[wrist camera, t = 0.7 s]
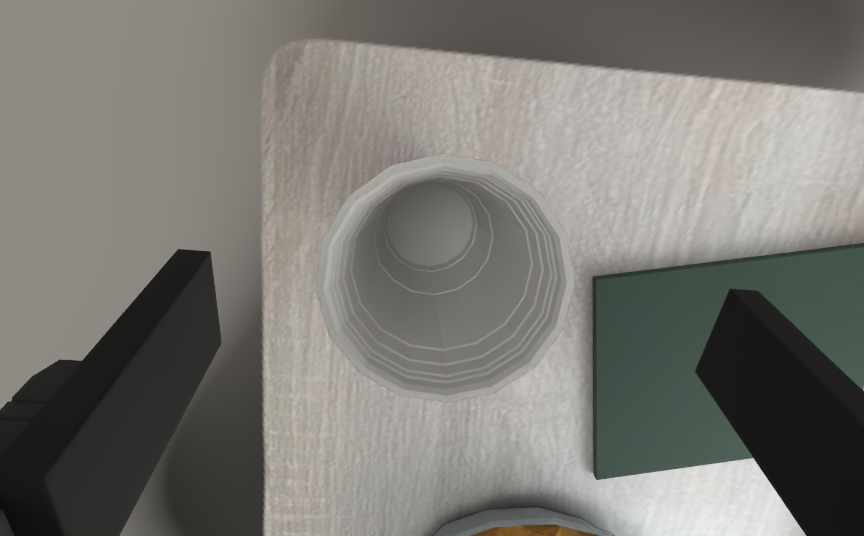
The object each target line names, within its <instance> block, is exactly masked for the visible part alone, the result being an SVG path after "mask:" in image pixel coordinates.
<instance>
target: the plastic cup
mask: <svg viewBox="0 0 864 536" xmlns="http://www.w3.org/2000/svg"><path fill="white" fill-rule="evenodd" d="M574 284H575V279H574V272H573V266H572V260H571V254H570V248H569V241H568V235H567V233H566V231H565V229H564V228H563V226H562V225H561V223H560V222H559V220H558V219H557V217H556V216H555V214H554V213H553V211H552V209H551V208H550V206H549V205H548V203H547V202H546V200H545V199H544V197H543V196H542V194H541V192H540V191H539V190H537V189H535V188H534V187H532V186H531V185H529V184H528V183H526V182H525V181H523V180H522V179H520V178H519V177H517V176H516V175H514V174H513V173H511V172H510V171H508V170H506V169H505V168H503V167H502V166H500V165H499V164H497V163H495V162H490V161H484V160H478V159H472V158H467V157H461V156H455V155H450V154H444V153H442V154H438V155H434V156H429V157H425V158H421V159H416V160H412V161H408V162H403V163H399V164H395V165H390V166H389V167H388V168H386V169H385V170H384V171H382V172H381V173H379V174H378V175H377V176H375V177H374V178H373V179H371V180H370V181H368V182H367V183H366V184H364V185H363V186H362V187H360V188H359V189H357V190H356V191H355V192H353V193H352V194H351V195H349V196H348V197H347V198H346V200H345V202H344V204H343V205H342V207H341V209H340V210H339V212H338V214H337V215H336V217H335V219H334V220H333V222H332V224H331V226H330V227H329V229H328V231H327V232H326V234H325V236H324V237H323V239H322V241H321V249H320V257H319V265H318V273H317V281H316V293H317V297H318V300H319V303H320V307H321V310H322V314H323V317H324V320H325V324H326V327H327V330H328V334H329V336H330V338H331V339H332V340H333V341H334V343H335V344H336V345H337V346H338V347H339V349H340V350H341V351H342V352H343V354H344V355H345V356H346V357H347V358H348V360H349V361H350V362H351V363H352V365H353V366H354V367H355V368H356V369H357V371H358V372H359V373H361V374H362V375H364V376H366V377H368V378H370V379H371V380H373V381H375V382H377V383H379V384H380V385H382V386H384V387H386V388H388V389H389V390H391V391H393V392H395V393H397V394H398V395H400V396H405V397H412V398H419V399H426V400H433V401H440V402H447V403H449V402H454V401H458V400H463V399H468V398H472V397H477V396H482V395H486V394H491V393H495V392H497V391H498V390H500V389H501V388H503V387H504V386H506V385H508V384H509V383H511V382H512V381H514V380H515V379H517V378H519V377H520V376H522V375H523V374H525V373H526V372H528V371H530V370H531V369H533V368H534V367H535V366H536V365H537V364H538V362H539V361H540V360H541V358H542V357H543V356H544V354H545V353H546V351H547V350H548V349H549V347H550V346H551V345H552V343H553V342H554V341H555V339H556V338H557V337H558V335H559V334H560V332H561V331H562V330H563V328H564V324H565V320H566V316H567V312H568V308H569V304H570V300H571V296H572V292H573V288H574Z"/></svg>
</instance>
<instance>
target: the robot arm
mask: <svg viewBox="0 0 864 536" xmlns="http://www.w3.org/2000/svg"><path fill="white" fill-rule="evenodd" d="M220 345H221V334H220V327H219V318H218V310H217V303H216V293H215V286H214V277H213V269H212V260H211V252H209V251H195V250H181V249H178V250H177V251H176V252H175V254H174V255H173V256H172V257H171V258H170V259H169V260H168V262H167V263H166V264H165V265H164V266H163V267H162V269H161V270H160V271H159V272H158V273H157V274H156V276H155V277H154V278H153V279H152V280H151V281H150V283H149V284H148V285H147V286H146V287H145V288H144V290H143V291H142V292H141V293H140V294H139V295H138V297H137V298H136V299H135V300H134V301H133V303H131V305H130V306H129V307H128V308H127V309H126V310H125V312H124V313H123V314H122V315H121V316H120V317H119V319H118V320H117V321H116V322H115V323H114V324H113V326H112V327H111V328H110V329H109V330H108V331H107V333H106V334H105V335H104V336H103V337H102V338H101V340H100V341H99V342H98V343H97V344H96V345H95V347H94V348H93V349H92V350H91V351H90V352H89V354H88V355H87V356H86V357H85V358H84V359H83V360H82V361H74V360H58V361H57V362H55V363H54V364H52V365H50V366H49V367H47V368H45V369H44V370H42V371H40V372H39V373H37V374H36V375H34V376H32V377H31V378H30V379H29V380H28V381H27V383H26V384H24V386H23V387H22V388H21V389H20V390H19V391H18V392H17V393H16V394H15V395H14V396H13V397H12V401H11V402H7V403H6V404H5V406H4V407H3V408H2V409H1V410H0V536H119V535H120V533H121V531H122V530H123V528H124V526H125V524H126V522H127V520H128V518H129V516H130V514H131V513H132V511H133V509H134V507H135V505H136V503H137V501H138V499H139V497H140V496H141V494H142V492H143V490H144V488H145V486H146V484H147V482H148V480H149V479H150V477H151V475H152V473H153V471H154V469H155V467H156V465H157V463H158V462H159V460H160V458H161V456H162V454H163V452H164V450H165V448H166V447H167V445H168V442H169V441H170V439H171V437H172V435H173V433H174V431H175V429H176V428H177V426H178V424H179V422H180V420H181V418H182V416H183V414H184V413H185V410H186V409H187V407H188V405H189V403H190V401H191V399H192V397H193V396H194V393H195V392H196V390H197V388H198V386H199V384H200V382H201V380H202V379H203V377H204V375H205V373H206V371H207V369H208V367H209V365H210V363H211V362H212V360H213V358H214V356H215V354H216V352H217V350H218V348H219V346H220ZM695 373H696V374H697V376H698V377H699V379H700V380H701V382H702V383H703V385H704V386H705V387H706V389H707V390H708V392H709V393H710V395H711V396H712V398H713V399H714V401H715V402H716V404H717V405H718V407H719V408H720V410H721V411H722V412H723V414H724V415H725V417H726V418H727V420H728V421H729V423H730V424H731V426H732V427H733V429H734V430H735V432H736V433H737V435H738V436H739V437H740V439H741V440H742V442H743V443H744V445H745V446H746V448H747V449H748V451H749V452H750V454H751V455H752V457H753V458H754V459H755V461H756V462H757V464H758V465H759V467H760V468H761V470H762V471H763V473H764V474H765V476H766V477H767V479H768V480H769V482H770V483H771V484H772V486H773V487H774V489H775V490H776V492H777V493H778V495H779V496H780V498H781V499H782V501H783V502H784V504H785V505H786V506H787V508H788V509H789V511H790V512H791V514H792V515H793V517H794V518H795V520H796V521H797V523H798V524H799V526H800V527H801V529H802V530H803V531H804V533H805V534H806V536H864V391H863V390H862V389H861V388H860V387H859V386H858V385H857V384H856V383H855V382H854V381H852V380H851V379H850V378H849V377H848V376H847V375H846V374H845V373H844V372H843V371H842V370H841V369H840V368H839V367H838V366H837V365H836V364H835V363H834V362H833V361H832V360H830V359H829V358H828V357H827V356H826V355H825V354H824V353H823V352H822V351H821V350H820V349H819V348H818V347H817V346H816V345H815V344H814V343H813V342H812V341H811V340H809V339H808V338H807V337H806V336H805V335H804V334H803V333H802V332H801V331H800V330H799V329H798V328H797V327H796V326H795V325H794V324H793V323H792V322H791V321H790V320H789V319H787V318H786V317H785V316H784V315H783V314H782V313H781V312H780V311H779V310H778V309H777V308H776V307H775V306H774V305H773V304H772V303H771V302H770V301H769V300H768V299H767V298H765V297H764V296H763V295H762V294H761V293H760V292H759V291H757V290H743V289H729V292H728V294H727V296H726V299H725V301H724V303H723V306H722V308H721V311H720V313H719V315H718V318H717V320H716V322H715V325H714V327H713V329H712V332H711V334H710V337H709V339H708V341H707V344H706V346H705V348H704V351H703V353H702V355H701V358H700V360H699V363H698V365H697V367H696V370H695Z"/></svg>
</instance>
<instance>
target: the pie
mask: <svg viewBox="0 0 864 536" xmlns="http://www.w3.org/2000/svg"><path fill="white" fill-rule="evenodd" d="M433 536H614V535H613V534H612V533H610V532H608V531H604V530H600V529H596V528H595V527H594V526H592V525H591V524H589V523H588V522H586V521H585V520H584V519H582V518H578V517H574V516H570V515H566V514H563V513H559V512H555V511H551V510H547V509H544V508H540V507H525V508H505V509H487V510H484V511H481V512H478V513H475V514H472V515H469V516H466V517H463V518H460V519H458V520H455V521H452V522H449V523H446V524H444V525H443V526H442V527H441V528H440V529H439V530H438V531H437V532H436V533H435V534H434V535H433Z"/></svg>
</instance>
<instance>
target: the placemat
mask: <svg viewBox="0 0 864 536" xmlns="http://www.w3.org/2000/svg"><path fill="white" fill-rule="evenodd" d="M729 289H743V290H757V291H759V292H760V293H761V294H762V295H763V296H764V297H765V298H767V299H768V300H769V301H770V302H771V303H772V304H773V305H774V306H775V307H776V308H777V309H778V310H779V311H780V312H781V313H782V314H783V315H784V316H785V317H786V318H787V319H789V320H790V321H791V322H792V323H793V324H794V325H795V326H796V327H797V328H798V329H799V330H800V331H801V332H802V333H803V334H804V335H805V336H806V337H807V338H808V339H809V340H811V341H812V342H813V343H814V344H815V345H816V346H817V347H818V348H819V349H820V350H821V351H822V352H823V353H824V354H825V355H826V356H827V357H828V358H829V359H830V360H832V361H833V362H834V363H835V364H836V365H837V366H838V367H839V368H840V369H841V370H842V371H843V372H844V373H845V374H846V375H847V376H848V377H849V378H850V379H851V380H852V381H854V382H855V383H856V384H857V385H858V386H859V387H860V388H861V389H862V390H863V387H864V243H863V244H855V245H847V246H839V247H831V248H822V249H814V250H806V251H798V252H790V253H782V254H774V255H766V256H758V257H750V258H742V259H734V260H725V261H717V262H709V263H701V264H693V265H685V266H677V267H669V268H661V269H653V270H645V271H637V272H628V273H620V274H612V275H604V276H596V277H593V424H594V476H595V478H596V480H599V479H606V478H613V477H621V476H628V475H635V474H642V473H649V472H656V471H663V470H670V469H678V468H685V467H692V466H699V465H706V464H713V463H720V462H728V461H735V460H742V459H749V458H753V457H752V455H751V454H750V452H749V451H748V449H747V448H746V446H745V445H744V443H743V442H742V440H741V439H740V437H739V436H738V435H737V433H736V432H735V430H734V429H733V427H732V426H731V424H730V423H729V421H728V420H727V418H726V417H725V415H724V414H723V412H722V411H721V410H720V408H719V407H718V405H717V404H716V402H715V401H714V399H713V398H712V396H711V395H710V393H709V392H708V390H707V389H706V387H705V386H704V385H703V383H702V382H701V380H700V379H699V377H698V376H697V374H696V373H695V370H696V367H697V365H698V363H699V360H700V358H701V355H702V353H703V351H704V348H705V346H706V344H707V341H708V339H709V337H710V334H711V332H712V329H713V327H714V325H715V322H716V320H717V318H718V315H719V313H720V311H721V308H722V306H723V303H724V301H725V299H726V296H727V294H728V292H729Z"/></svg>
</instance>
